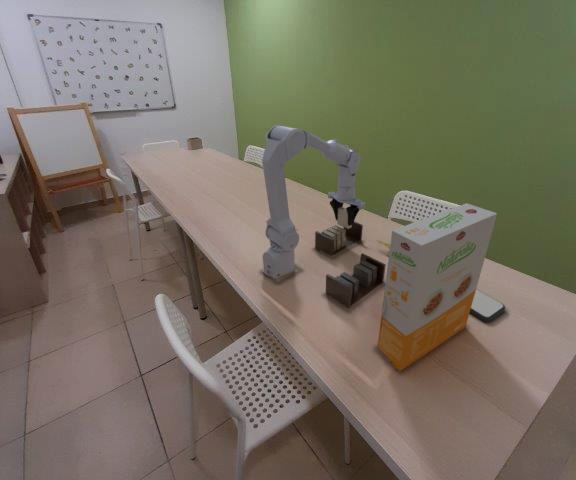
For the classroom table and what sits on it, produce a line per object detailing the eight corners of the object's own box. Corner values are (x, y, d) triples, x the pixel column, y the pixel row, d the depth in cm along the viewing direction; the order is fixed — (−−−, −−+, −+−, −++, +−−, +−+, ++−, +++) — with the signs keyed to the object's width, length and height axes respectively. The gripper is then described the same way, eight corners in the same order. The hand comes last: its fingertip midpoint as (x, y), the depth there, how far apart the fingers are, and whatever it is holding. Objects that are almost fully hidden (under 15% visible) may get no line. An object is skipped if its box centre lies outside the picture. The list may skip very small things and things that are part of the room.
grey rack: (347, 311, 77) (349, 289, 75) (325, 295, 83) (325, 275, 80) (383, 284, 87) (386, 264, 84) (360, 272, 92) (362, 252, 90)
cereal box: (441, 311, 76) (466, 203, 64) (465, 327, 71) (497, 213, 59) (377, 349, 66) (392, 230, 54) (399, 371, 61) (421, 245, 49)
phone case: (506, 310, 76) (448, 276, 89) (507, 306, 76) (449, 272, 88) (486, 324, 72) (428, 287, 85) (487, 320, 72) (429, 282, 84)
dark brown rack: (331, 258, 100) (332, 239, 97) (314, 249, 105) (315, 231, 102) (361, 241, 109) (363, 224, 106) (344, 234, 114) (345, 217, 112)
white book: (348, 229, 103) (349, 212, 100) (337, 224, 106) (337, 208, 104) (351, 227, 104) (352, 211, 101) (340, 222, 107) (341, 206, 105)
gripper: (372, 187, 96) (368, 225, 102) (337, 177, 106) (336, 212, 112) (358, 193, 92) (355, 232, 97) (323, 182, 102) (323, 218, 108)
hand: (344, 222), depth 104 cm, fingers closed on white book, 5 cm apart
